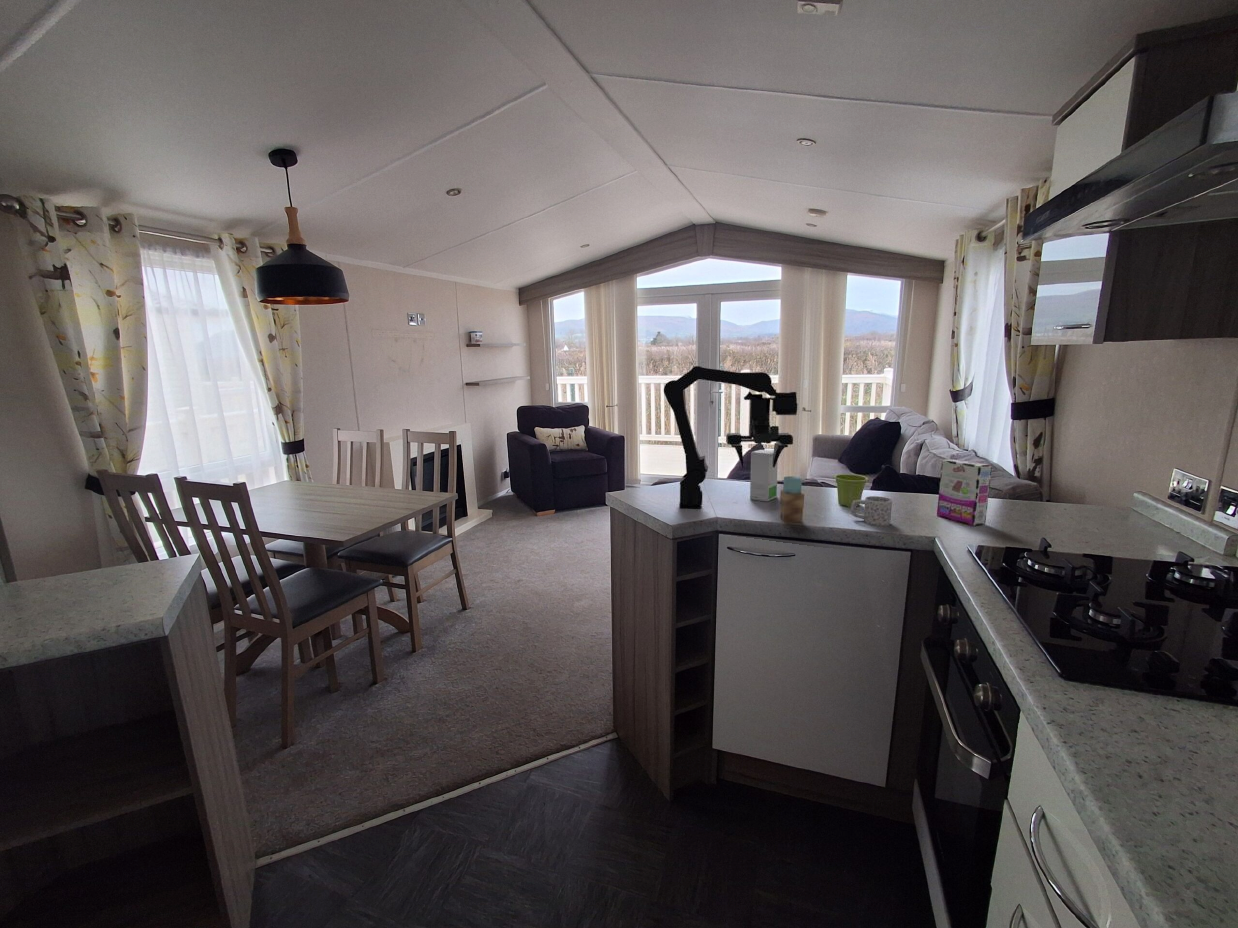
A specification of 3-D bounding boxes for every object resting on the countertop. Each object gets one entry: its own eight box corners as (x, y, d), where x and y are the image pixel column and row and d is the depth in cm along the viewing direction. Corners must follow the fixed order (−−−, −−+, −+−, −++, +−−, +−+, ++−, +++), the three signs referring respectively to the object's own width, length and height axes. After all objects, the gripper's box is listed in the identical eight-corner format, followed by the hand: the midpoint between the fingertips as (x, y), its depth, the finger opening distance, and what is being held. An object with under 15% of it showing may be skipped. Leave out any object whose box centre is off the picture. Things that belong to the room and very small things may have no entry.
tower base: (783, 522, 148) (784, 508, 147) (780, 516, 152) (780, 503, 152) (802, 522, 147) (802, 508, 146) (798, 517, 152) (799, 503, 151)
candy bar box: (986, 524, 142) (993, 464, 139) (973, 526, 141) (980, 466, 138) (948, 513, 153) (954, 457, 150) (935, 515, 151) (941, 459, 148)
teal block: (784, 494, 146) (785, 479, 145) (781, 489, 151) (782, 476, 150) (802, 494, 146) (803, 480, 145) (799, 490, 150) (800, 476, 149)
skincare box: (767, 502, 168) (769, 453, 165) (748, 499, 172) (749, 452, 169) (777, 496, 175) (779, 450, 172) (758, 494, 179) (759, 448, 176)
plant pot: (859, 500, 168) (861, 474, 167) (870, 508, 159) (872, 480, 157) (829, 500, 169) (830, 474, 167) (838, 508, 160) (839, 480, 158)
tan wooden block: (785, 508, 146) (786, 494, 146) (779, 503, 151) (780, 490, 151) (803, 508, 147) (804, 494, 146) (797, 503, 151) (798, 489, 151)
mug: (891, 521, 147) (893, 497, 145) (889, 527, 141) (891, 503, 140) (852, 516, 152) (853, 493, 151) (848, 522, 146) (850, 499, 145)
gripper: (730, 418, 149) (729, 472, 152) (798, 417, 147) (795, 472, 150) (726, 414, 160) (725, 465, 163) (790, 414, 158) (787, 465, 161)
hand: (757, 467), depth 159 cm, fingers open, 9 cm apart
